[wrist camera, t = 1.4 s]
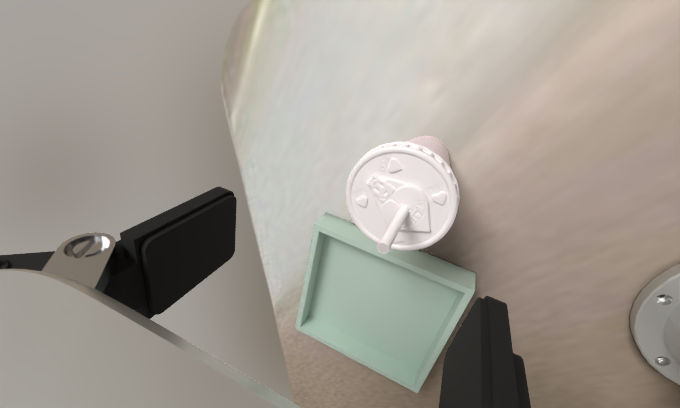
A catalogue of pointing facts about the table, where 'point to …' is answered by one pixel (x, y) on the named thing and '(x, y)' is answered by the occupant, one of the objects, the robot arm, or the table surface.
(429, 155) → the smoothie
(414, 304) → the tray
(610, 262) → the table surface
